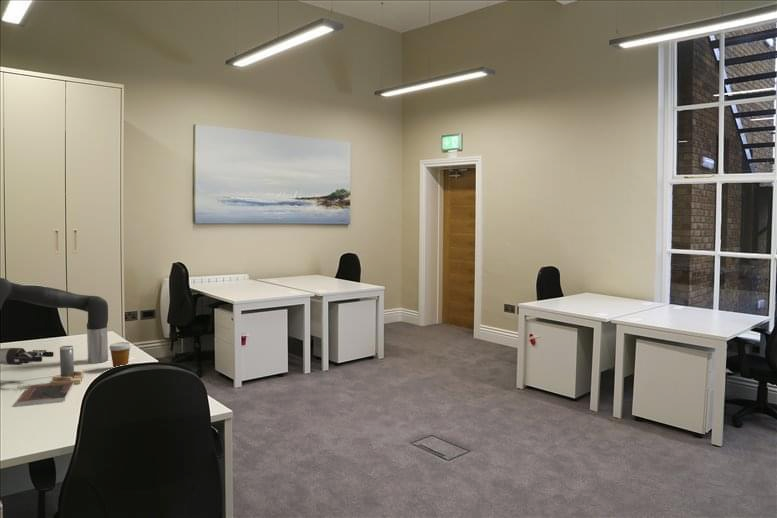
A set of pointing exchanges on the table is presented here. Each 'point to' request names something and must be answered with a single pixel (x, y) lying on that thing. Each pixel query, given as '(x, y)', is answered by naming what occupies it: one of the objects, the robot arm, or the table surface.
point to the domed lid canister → (67, 361)
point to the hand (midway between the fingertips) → (47, 356)
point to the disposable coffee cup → (120, 353)
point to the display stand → (69, 378)
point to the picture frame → (45, 394)
